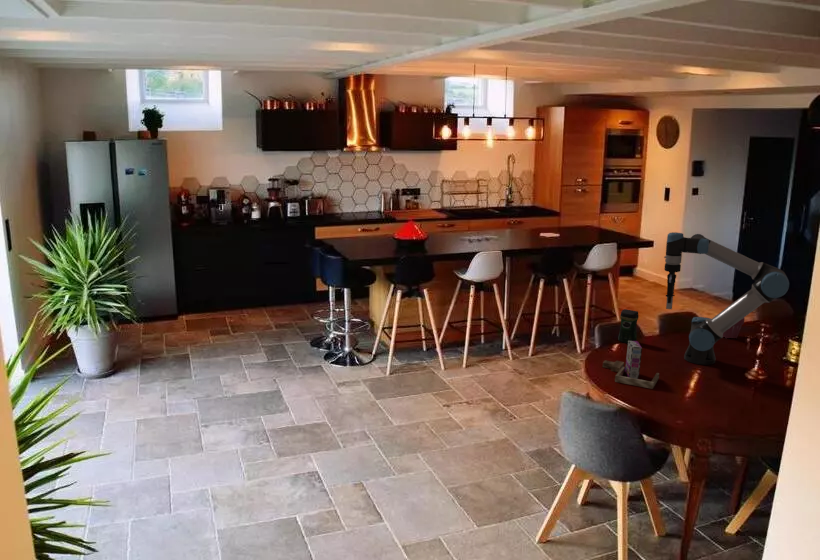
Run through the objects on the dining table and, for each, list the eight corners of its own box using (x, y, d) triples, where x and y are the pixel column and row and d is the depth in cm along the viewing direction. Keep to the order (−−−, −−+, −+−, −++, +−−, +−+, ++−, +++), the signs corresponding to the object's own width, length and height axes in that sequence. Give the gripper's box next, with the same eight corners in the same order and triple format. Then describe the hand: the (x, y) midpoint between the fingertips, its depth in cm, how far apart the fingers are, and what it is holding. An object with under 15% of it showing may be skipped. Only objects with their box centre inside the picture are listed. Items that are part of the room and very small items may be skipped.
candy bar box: (639, 380, 331) (642, 347, 328) (628, 379, 332) (631, 347, 328) (635, 372, 342) (638, 340, 338) (624, 371, 343) (627, 340, 339)
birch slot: (658, 379, 333) (659, 373, 332) (652, 388, 320) (653, 382, 319) (622, 372, 341) (622, 366, 341) (614, 381, 328) (615, 375, 328)
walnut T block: (623, 366, 350) (624, 362, 349) (619, 372, 341) (619, 367, 341) (605, 363, 354) (606, 358, 353) (600, 368, 345) (601, 364, 345)
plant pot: (738, 334, 409) (741, 313, 406) (744, 341, 396) (747, 320, 393) (713, 332, 412) (715, 311, 409) (717, 339, 399) (720, 318, 396)
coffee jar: (638, 341, 391) (641, 310, 387) (633, 345, 385) (636, 313, 381) (621, 338, 397) (624, 307, 393) (616, 341, 391) (619, 310, 387)
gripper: (666, 260, 352) (663, 305, 357) (663, 264, 341) (659, 310, 346) (682, 261, 349) (678, 306, 354) (679, 266, 338) (675, 312, 343)
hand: (668, 308), depth 350 cm, fingers closed
